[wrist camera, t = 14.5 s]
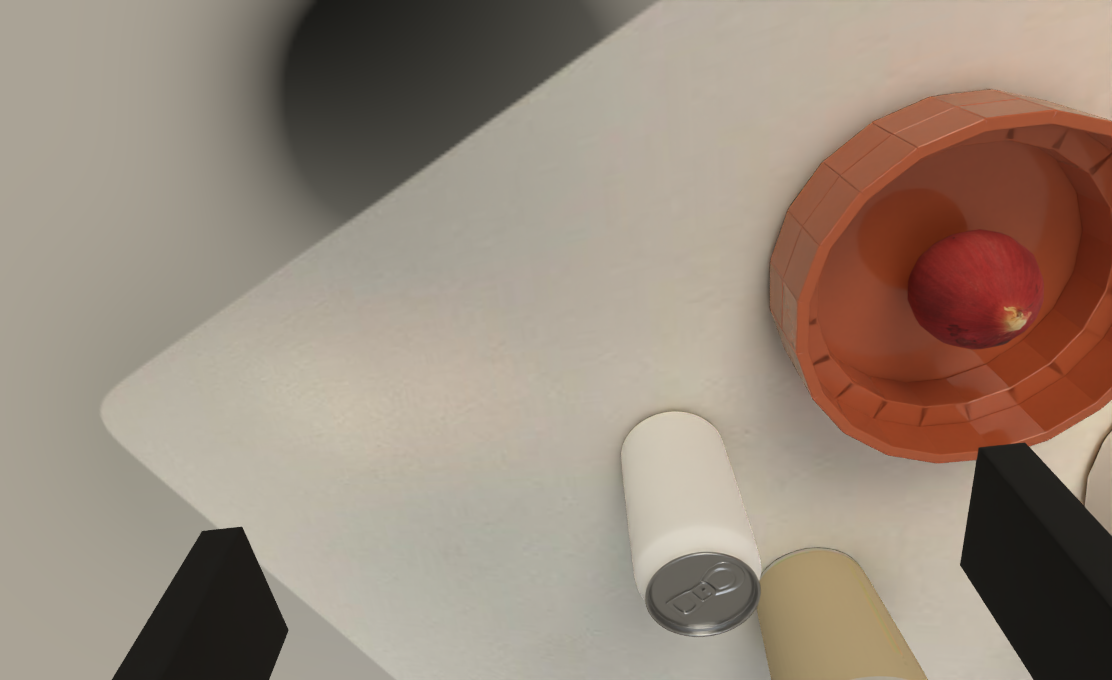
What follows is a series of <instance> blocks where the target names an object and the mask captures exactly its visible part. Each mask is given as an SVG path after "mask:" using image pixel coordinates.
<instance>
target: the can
mask: <svg viewBox="0 0 1112 680" xmlns="http://www.w3.org/2000/svg"><path fill="white" fill-rule="evenodd" d="M621 465H622V476H623V485H624V494H625V503H626V512H627V521H628V530H629V539H630V547H631V556H632V564H633V571H634V578H635V582H636V585H637V588H638V591H639V592H640V594H641V596H642V597H643V599H644V600H645V602H646V607H647V609H648V612H649V613H650V615H651V617H652V618H653V619H654V620H655V621H656V622H657V623H658V624H659V625H661V626H662V627H663V628H665V629H667V630H669V631H671V632H674V633H677V634H680V635H685V636H692V637H705V636H713V635H717V634H721V633H724V632H727V631H729V630H732V629H734V628H736V627H737V626H739V625H740V624H742V623H743V622H745V621H746V620H747V619H748V618H749V617H750V616H751V615H752V613H753V612H754V611H755V609H756V607H757V605H758V603H759V600H760V595H761V587H760V583H759V581H760V576H761V560H760V555H759V552H758V548H757V545H756V542H755V538H754V535H753V532H752V529H751V526H750V523H749V519H748V516H747V513H746V510H745V507H744V504H743V501H742V498H741V495H740V492H739V489H738V486H737V482H736V479H735V476H734V473H733V470H732V467H731V464H730V461H729V458H728V455H727V452H726V449H725V446H724V443H723V441H722V438H721V436H720V434H719V432H718V431H717V429H716V428H715V427H714V426H713V425H712V424H710V423H709V422H708V421H706V420H704V419H703V418H701V417H699V416H697V415H694V414H691V413H686V412H665V413H660V414H657V415H654V416H651V417H649V418H647V419H645V420H643V421H642V422H640V423H639V424H638V425H636V426H635V427H634V428H633V429H632V430H631V431H630V433H629V434H628V435H627V437H626V439H625V441H624V443H623V446H622V450H621Z"/></svg>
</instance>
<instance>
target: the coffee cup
mask: <svg viewBox="0 0 1112 680" xmlns="http://www.w3.org/2000/svg"><path fill="white" fill-rule="evenodd" d="M759 583H760V587H761V595H760V600H759V603H758V605H757V612H758V617H759V622H760V627H761V632H762V637H763V642H764V647H765V651H766V656H767V661H768V666H769V671H770V675H771V680H928V679H927V677H926V675H925V674H924V672H923V670H922V668H921V667H920V665H919V663H918V661H917V660H916V658H915V656H914V655H913V653H912V651H911V649H910V648H909V646H908V644H907V643H906V641H905V639H904V638H903V636H902V634H901V633H900V631H899V629H898V628H897V626H896V624H895V623H894V621H893V619H892V618H891V616H890V614H889V612H888V611H887V609H886V607H885V606H884V604H883V602H882V601H881V599H880V597H879V596H878V594H877V592H876V591H875V589H874V587H873V586H872V584H871V582H870V581H869V579H868V578H867V576H866V574H865V573H864V571H863V570H862V568H861V567H860V566H859V564H858V563H857V562H856V561H855V560H854V559H852V558H851V557H849V556H848V555H846V554H844V553H842V552H839V551H836V550H833V549H826V548H809V549H803V550H798V551H795V552H792V553H789V554H787V555H785V556H783V557H781V558H779V559H777V560H776V561H775V562H773V563H772V564H771V565H770V566H769V567H767V568H766V569H765V570H764V572H763V573H762V574H761V576H760V581H759Z"/></svg>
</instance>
